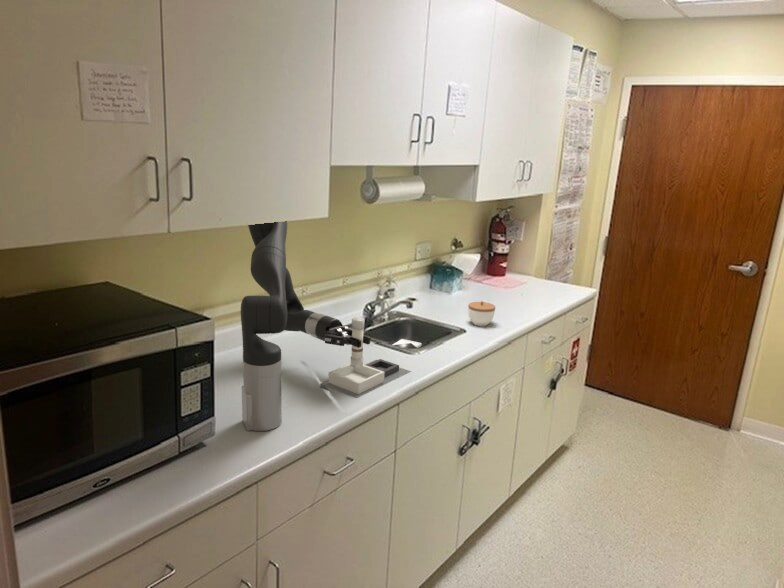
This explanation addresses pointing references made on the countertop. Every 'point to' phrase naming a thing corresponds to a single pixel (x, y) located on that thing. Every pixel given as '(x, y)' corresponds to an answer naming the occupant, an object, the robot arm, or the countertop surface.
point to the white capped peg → (358, 333)
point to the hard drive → (408, 342)
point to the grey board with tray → (363, 377)
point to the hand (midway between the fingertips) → (364, 342)
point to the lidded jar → (481, 313)
